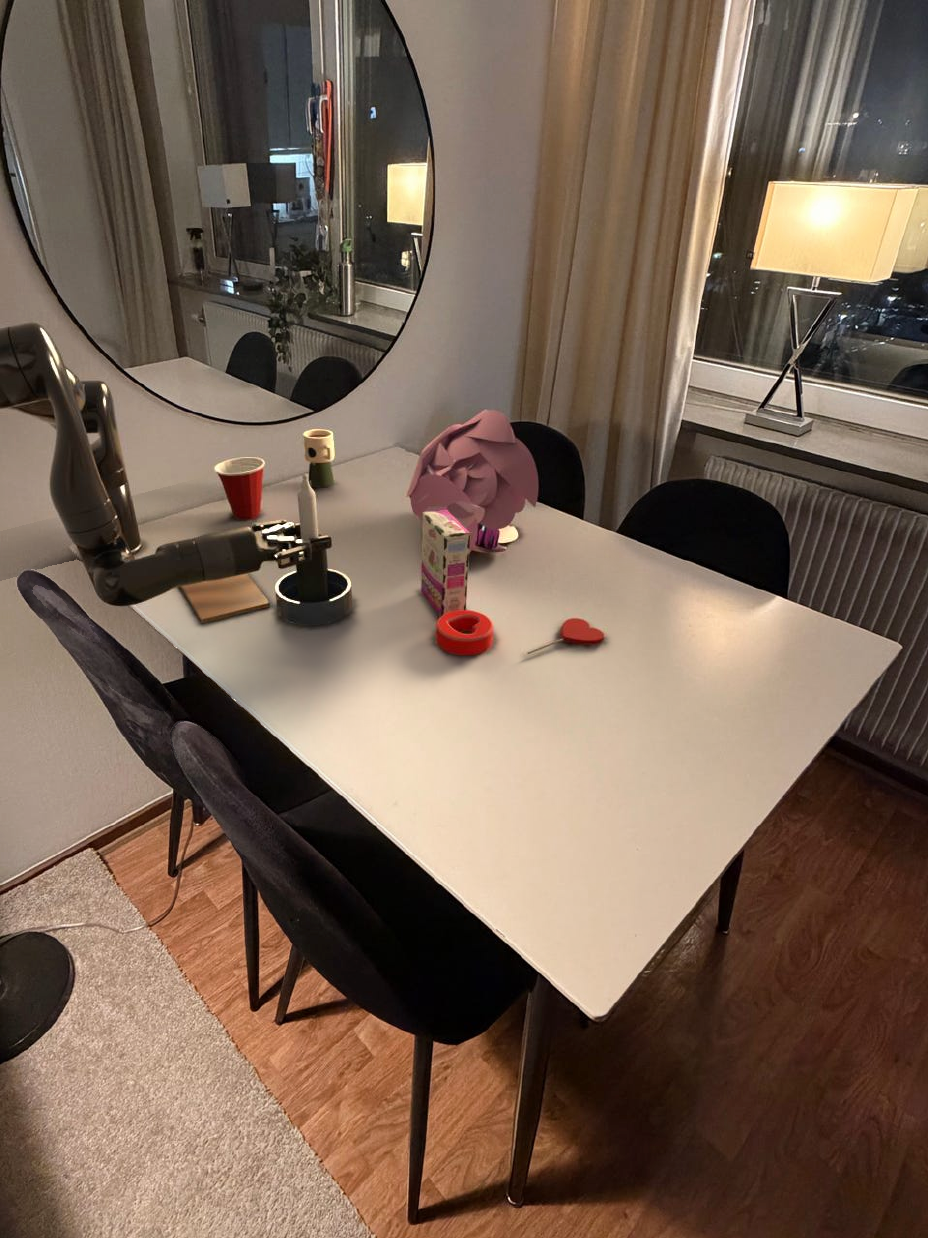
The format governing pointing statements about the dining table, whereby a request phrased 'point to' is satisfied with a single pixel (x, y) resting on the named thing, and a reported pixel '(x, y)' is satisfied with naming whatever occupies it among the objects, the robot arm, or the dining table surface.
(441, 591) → the candy bar box
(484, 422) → the flower arrangement
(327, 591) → the candle
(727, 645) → the dining table surface
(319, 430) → the character mug
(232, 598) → the mat
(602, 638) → the lollipop
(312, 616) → the bowl
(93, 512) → the robot arm
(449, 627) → the decorative ornament
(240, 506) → the plastic cup
